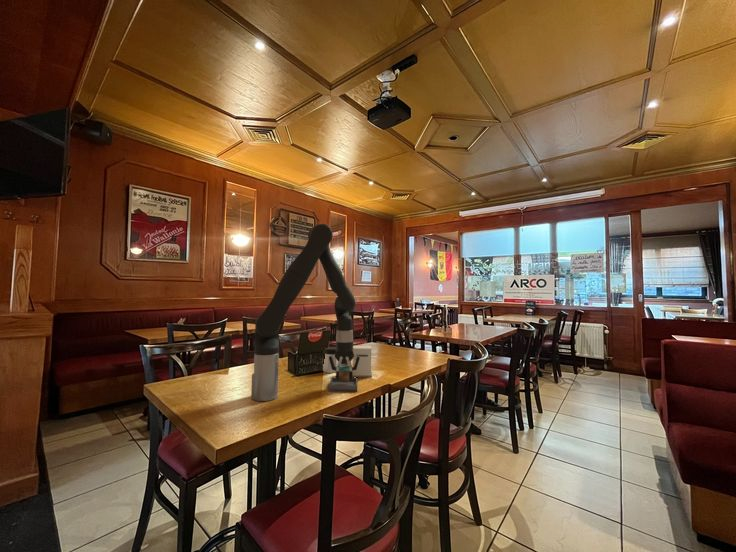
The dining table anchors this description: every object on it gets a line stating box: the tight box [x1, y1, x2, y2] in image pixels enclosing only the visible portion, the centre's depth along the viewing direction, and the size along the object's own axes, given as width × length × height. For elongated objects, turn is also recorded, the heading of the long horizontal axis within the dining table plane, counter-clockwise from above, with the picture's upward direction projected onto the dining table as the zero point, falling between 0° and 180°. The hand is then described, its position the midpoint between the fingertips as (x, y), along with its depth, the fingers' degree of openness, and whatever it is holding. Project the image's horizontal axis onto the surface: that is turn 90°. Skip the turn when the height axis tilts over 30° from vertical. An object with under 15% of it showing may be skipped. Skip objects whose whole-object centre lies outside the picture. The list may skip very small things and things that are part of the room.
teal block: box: [339, 366, 349, 382], centre depth 132 cm, size 4×4×6 cm
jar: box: [322, 346, 338, 374], centre depth 159 cm, size 9×8×12 cm
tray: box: [328, 377, 359, 393], centre depth 132 cm, size 12×12×2 cm
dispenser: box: [352, 345, 373, 379], centre depth 151 cm, size 10×8×14 cm
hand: (344, 379), depth 132 cm, fingers closed on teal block, 4 cm apart
